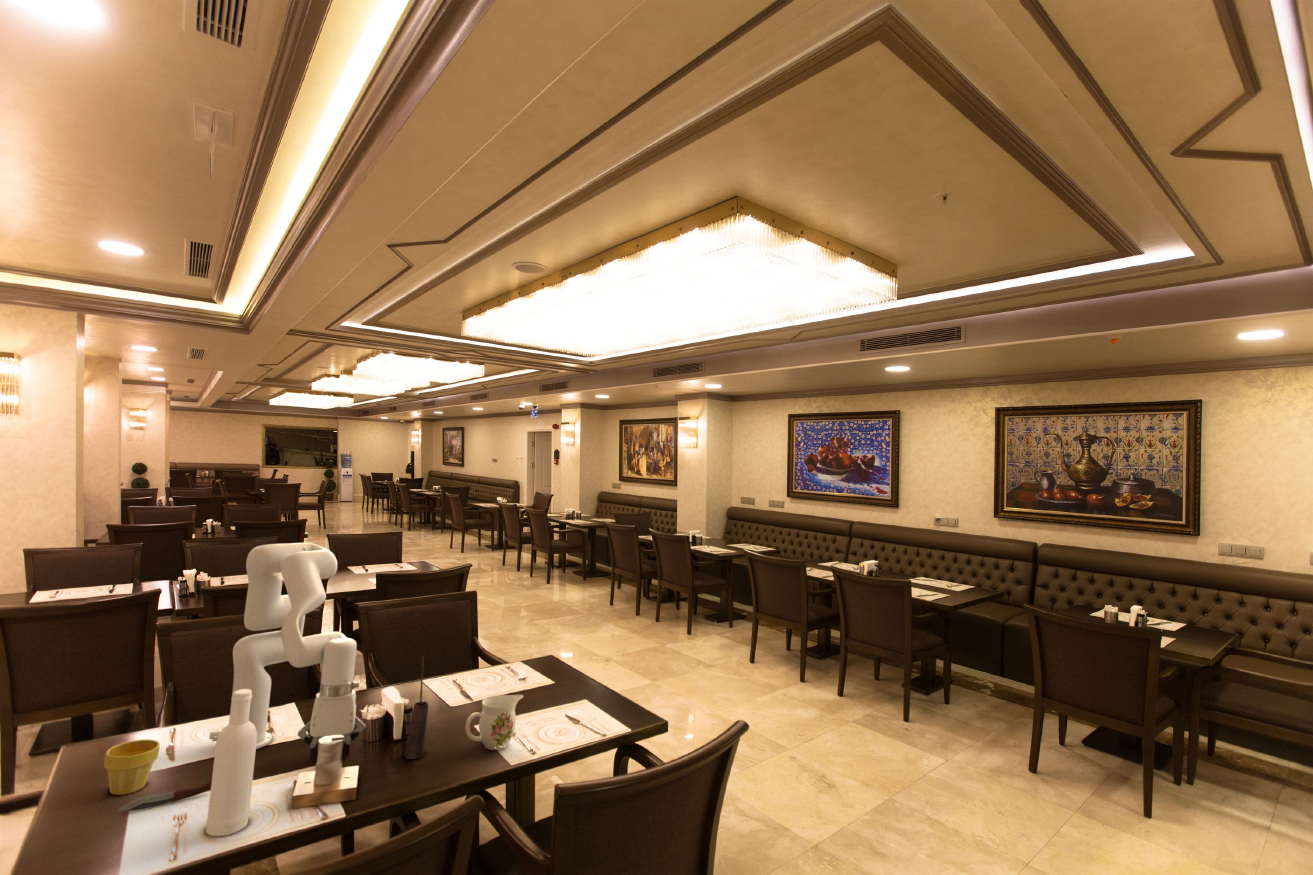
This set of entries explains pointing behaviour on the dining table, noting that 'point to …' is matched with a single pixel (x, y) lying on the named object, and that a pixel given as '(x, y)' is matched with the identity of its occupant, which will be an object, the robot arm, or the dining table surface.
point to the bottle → (233, 770)
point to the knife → (164, 798)
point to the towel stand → (325, 789)
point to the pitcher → (495, 721)
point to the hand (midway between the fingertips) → (329, 759)
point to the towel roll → (329, 760)
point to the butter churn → (417, 727)
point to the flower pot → (130, 765)
